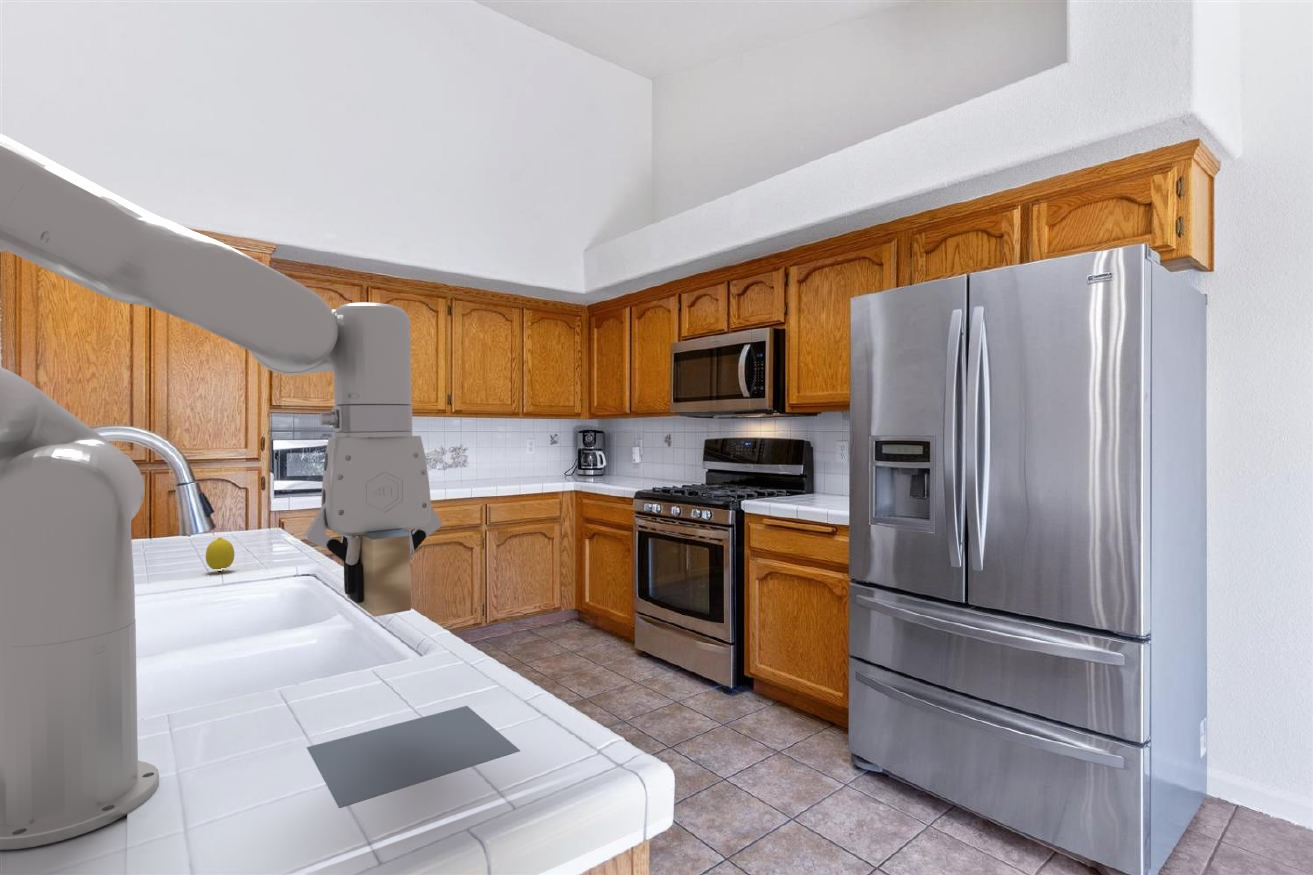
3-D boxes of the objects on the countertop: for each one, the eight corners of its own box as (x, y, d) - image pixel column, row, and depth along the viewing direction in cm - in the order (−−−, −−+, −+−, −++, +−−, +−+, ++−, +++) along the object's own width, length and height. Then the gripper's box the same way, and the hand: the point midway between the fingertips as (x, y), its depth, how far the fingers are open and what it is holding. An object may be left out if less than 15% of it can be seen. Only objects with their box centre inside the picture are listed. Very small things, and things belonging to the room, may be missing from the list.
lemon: (228, 569, 160) (227, 534, 160) (239, 571, 157) (238, 537, 157) (201, 573, 156) (201, 538, 155) (212, 576, 152) (211, 540, 152)
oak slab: (374, 616, 67) (372, 535, 67) (347, 597, 75) (345, 524, 75) (411, 610, 70) (409, 531, 70) (381, 591, 78) (379, 521, 77)
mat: (339, 811, 59) (339, 807, 59) (306, 750, 70) (306, 746, 70) (520, 754, 69) (520, 750, 69) (467, 708, 80) (467, 705, 80)
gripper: (293, 424, 64) (298, 619, 64) (464, 422, 74) (467, 590, 75) (278, 424, 70) (283, 603, 70) (438, 422, 80) (441, 578, 81)
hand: (378, 595), depth 73 cm, fingers closed on oak slab, 3 cm apart
